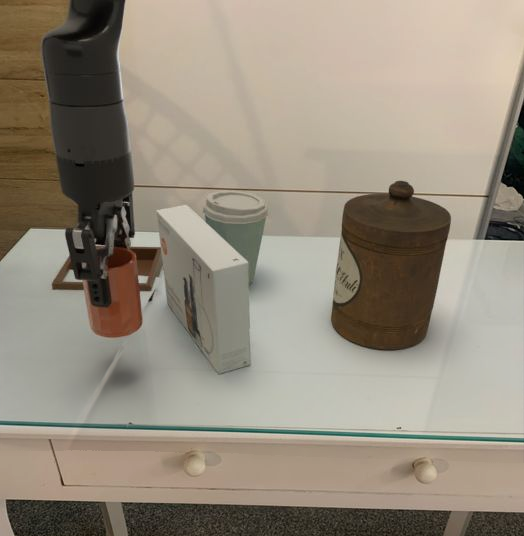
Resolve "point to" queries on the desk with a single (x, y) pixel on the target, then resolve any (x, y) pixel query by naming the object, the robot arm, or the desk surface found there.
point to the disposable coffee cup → (238, 222)
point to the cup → (118, 298)
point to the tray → (146, 266)
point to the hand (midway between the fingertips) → (112, 290)
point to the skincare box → (206, 287)
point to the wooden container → (388, 267)
